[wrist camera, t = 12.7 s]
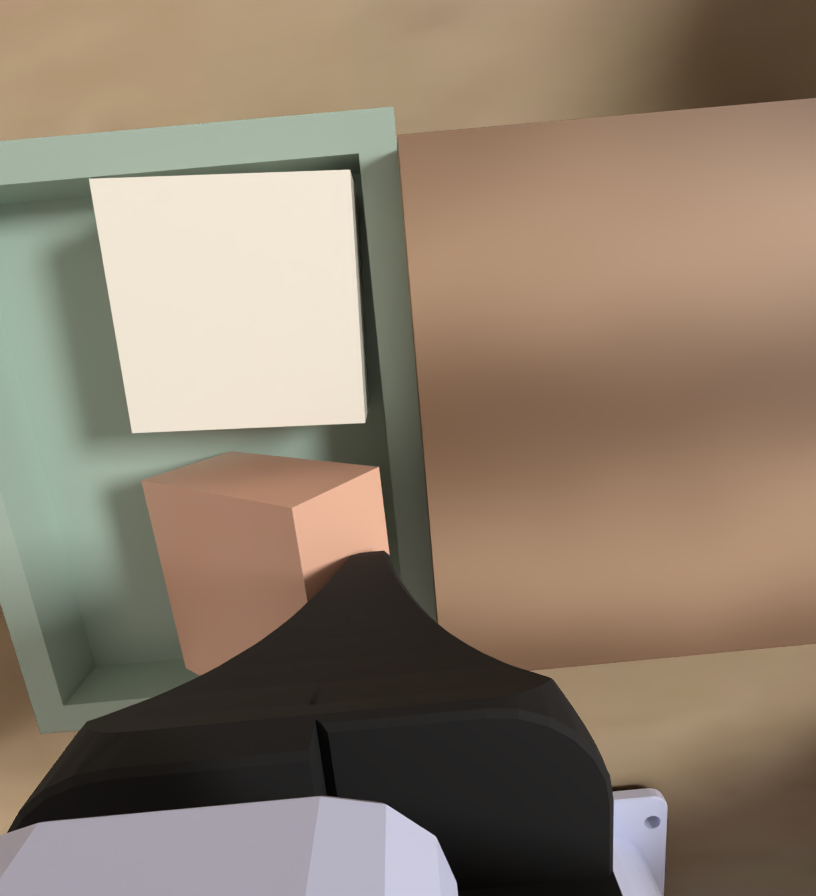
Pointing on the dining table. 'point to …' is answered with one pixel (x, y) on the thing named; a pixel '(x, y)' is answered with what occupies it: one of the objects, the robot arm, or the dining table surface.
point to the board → (618, 381)
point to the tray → (149, 454)
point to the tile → (236, 298)
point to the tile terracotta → (256, 542)
